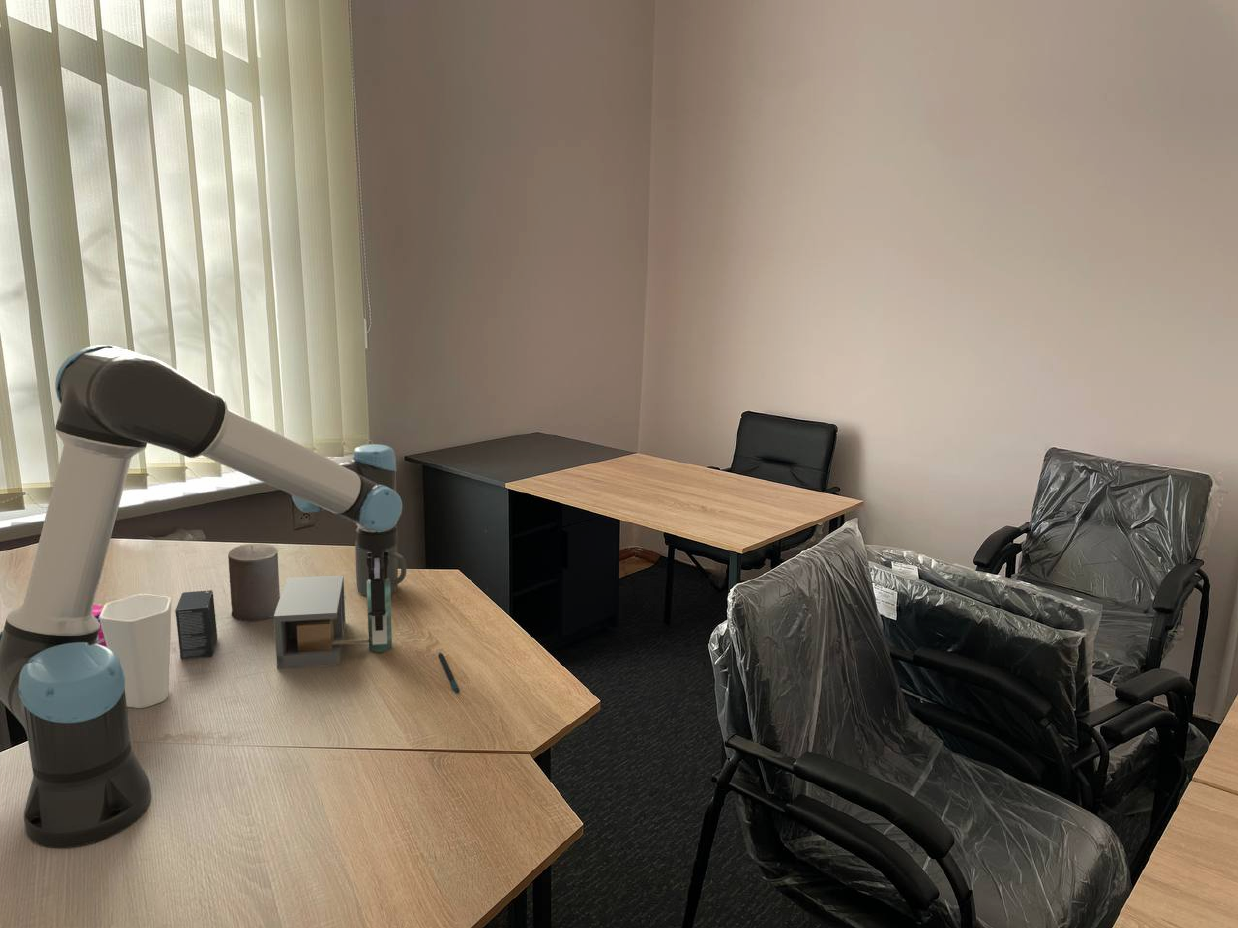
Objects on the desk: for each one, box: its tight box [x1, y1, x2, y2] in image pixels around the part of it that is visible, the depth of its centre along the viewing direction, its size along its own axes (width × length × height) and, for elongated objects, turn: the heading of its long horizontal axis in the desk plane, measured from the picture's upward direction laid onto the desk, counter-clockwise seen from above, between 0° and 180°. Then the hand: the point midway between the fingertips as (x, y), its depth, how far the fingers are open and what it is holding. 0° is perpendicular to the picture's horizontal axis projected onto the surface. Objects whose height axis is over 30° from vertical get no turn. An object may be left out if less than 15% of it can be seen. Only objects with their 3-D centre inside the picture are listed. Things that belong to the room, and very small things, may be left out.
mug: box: [354, 538, 407, 597], centre depth 195 cm, size 14×9×12 cm
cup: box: [99, 593, 172, 709], centre depth 148 cm, size 11×10×17 cm
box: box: [174, 589, 218, 661], centre depth 166 cm, size 8×6×11 cm
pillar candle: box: [227, 543, 281, 622], centre depth 182 cm, size 10×10×15 cm
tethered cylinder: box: [297, 578, 393, 653], centre depth 168 cm, size 6×17×14 cm, turn 103°
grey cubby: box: [273, 574, 346, 669], centre depth 170 cm, size 18×11×11 cm, turn 13°
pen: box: [438, 652, 460, 694], centre depth 163 cm, size 1×16×1 cm, turn 23°
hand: (380, 637), depth 171 cm, fingers closed on tethered cylinder, 4 cm apart
